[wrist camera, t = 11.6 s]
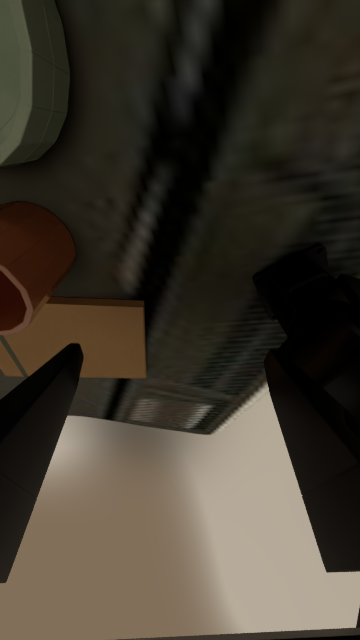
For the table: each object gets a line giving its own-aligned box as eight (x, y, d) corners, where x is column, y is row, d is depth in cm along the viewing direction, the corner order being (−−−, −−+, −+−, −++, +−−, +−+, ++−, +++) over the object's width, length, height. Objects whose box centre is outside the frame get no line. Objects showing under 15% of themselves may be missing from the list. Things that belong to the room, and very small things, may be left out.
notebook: (146, 370, 31) (146, 378, 30) (11, 368, 29) (6, 376, 28) (144, 299, 23) (142, 307, 22) (-41, 292, 22) (-51, 299, 21)
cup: (92, 254, 19) (56, 308, 13) (43, 287, 21) (-8, 348, 15) (26, 181, 16) (-64, 211, 10) (-25, 230, 18) (-127, 279, 12)
